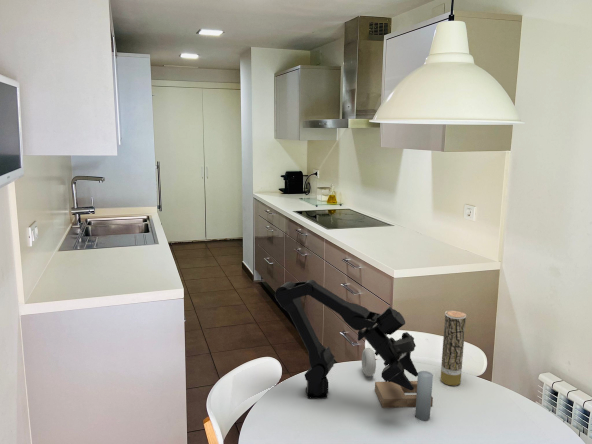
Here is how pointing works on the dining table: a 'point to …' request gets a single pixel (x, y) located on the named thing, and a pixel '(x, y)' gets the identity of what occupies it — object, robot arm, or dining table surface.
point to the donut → (368, 362)
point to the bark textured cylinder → (453, 347)
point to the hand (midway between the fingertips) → (415, 382)
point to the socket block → (396, 395)
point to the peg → (424, 395)
